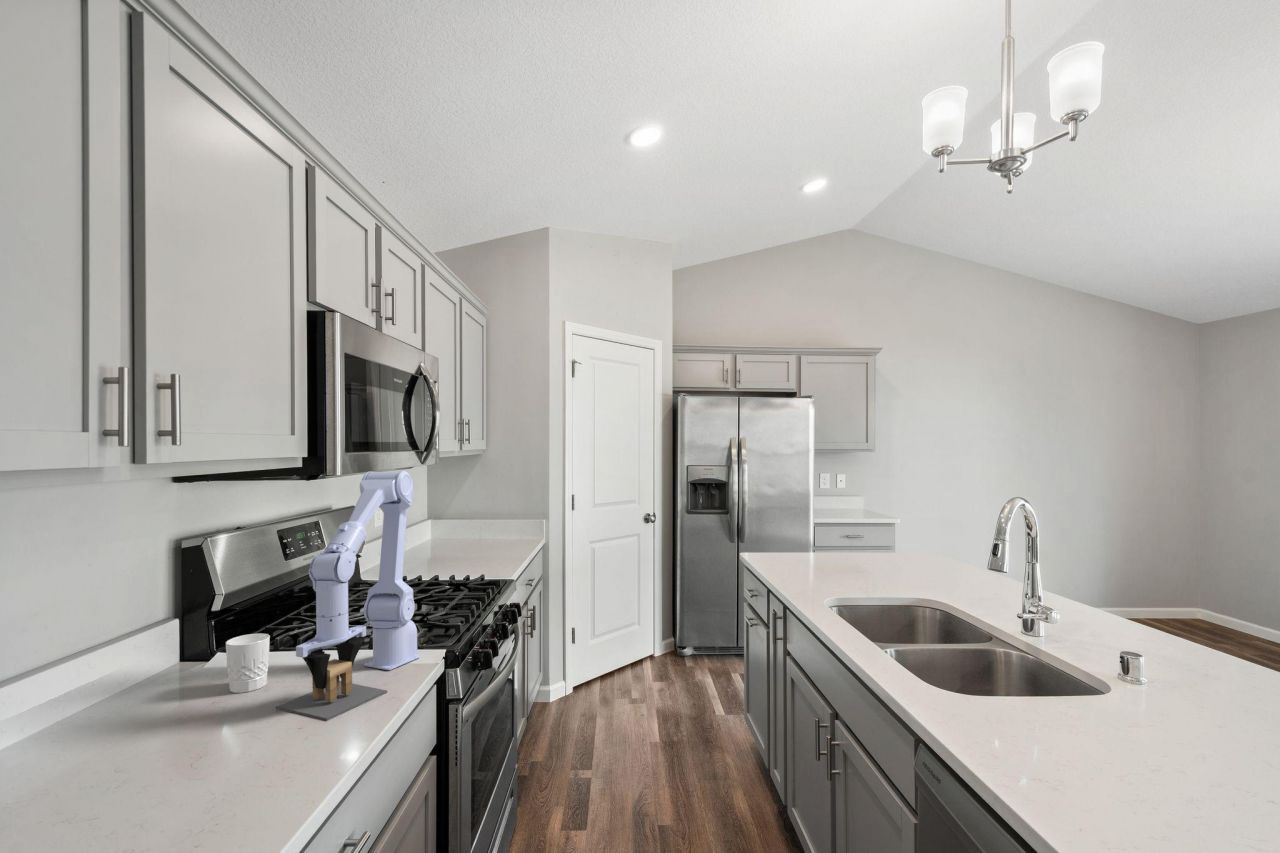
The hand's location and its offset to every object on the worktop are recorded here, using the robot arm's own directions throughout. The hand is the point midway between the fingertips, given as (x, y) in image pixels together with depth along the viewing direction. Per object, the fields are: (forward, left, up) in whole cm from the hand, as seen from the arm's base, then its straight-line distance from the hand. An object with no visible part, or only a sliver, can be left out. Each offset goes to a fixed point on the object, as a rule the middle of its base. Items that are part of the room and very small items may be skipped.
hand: (333, 682), depth 125 cm
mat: (0, 0, -3) cm, 3 cm away
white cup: (+2, -23, -4) cm, 23 cm away
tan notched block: (0, 0, -2) cm, 3 cm away
